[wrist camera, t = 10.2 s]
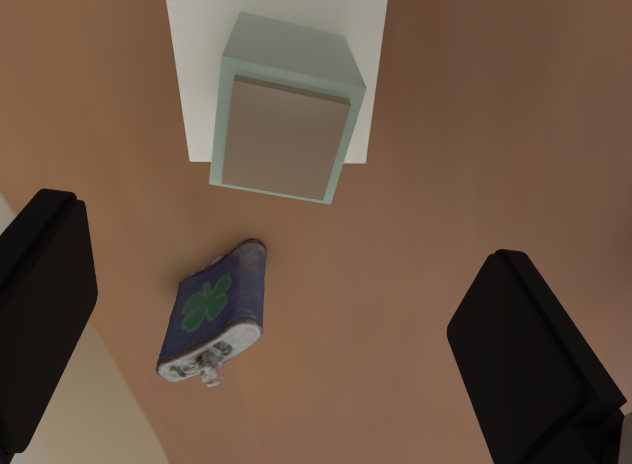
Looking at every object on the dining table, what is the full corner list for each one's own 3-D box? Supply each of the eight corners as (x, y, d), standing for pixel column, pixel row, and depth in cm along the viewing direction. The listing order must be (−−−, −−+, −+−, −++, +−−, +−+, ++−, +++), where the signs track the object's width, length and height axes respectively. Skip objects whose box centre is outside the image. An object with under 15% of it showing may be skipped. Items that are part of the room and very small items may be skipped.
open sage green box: (345, 37, 20) (369, 94, 14) (320, 132, 23) (331, 212, 17) (240, 11, 19) (219, 61, 13) (228, 113, 22) (206, 192, 16)
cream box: (370, -52, 23) (393, -40, 19) (351, 121, 30) (365, 163, 25) (184, -62, 23) (158, -52, 18) (204, 118, 29) (189, 161, 24)
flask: (253, 233, 35) (246, 340, 26) (275, 254, 36) (275, 362, 28) (171, 283, 37) (140, 395, 29) (195, 301, 39) (172, 412, 31)
